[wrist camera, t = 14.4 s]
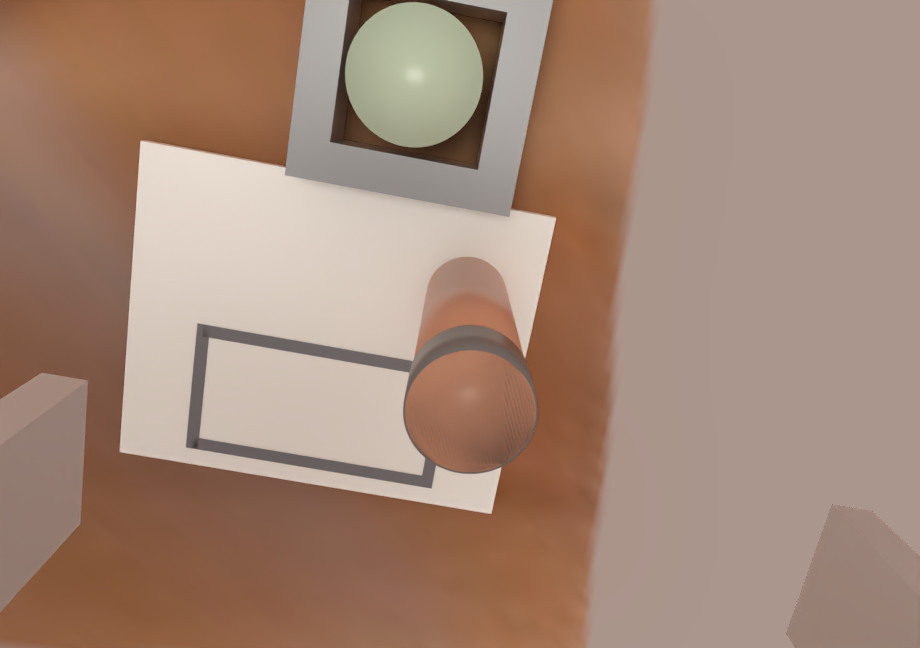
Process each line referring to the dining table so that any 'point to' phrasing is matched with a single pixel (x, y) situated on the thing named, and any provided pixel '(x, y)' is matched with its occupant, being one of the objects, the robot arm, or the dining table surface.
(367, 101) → the button
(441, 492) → the sheet
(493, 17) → the button housing
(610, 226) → the dining table surface
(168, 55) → the dining table surface
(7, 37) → the dining table surface
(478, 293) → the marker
